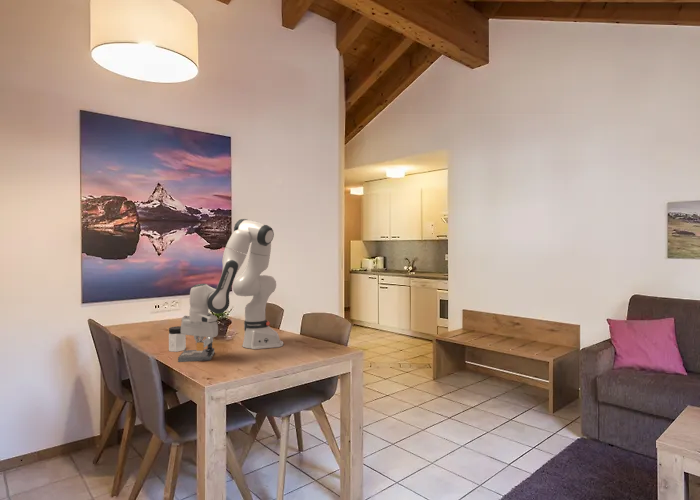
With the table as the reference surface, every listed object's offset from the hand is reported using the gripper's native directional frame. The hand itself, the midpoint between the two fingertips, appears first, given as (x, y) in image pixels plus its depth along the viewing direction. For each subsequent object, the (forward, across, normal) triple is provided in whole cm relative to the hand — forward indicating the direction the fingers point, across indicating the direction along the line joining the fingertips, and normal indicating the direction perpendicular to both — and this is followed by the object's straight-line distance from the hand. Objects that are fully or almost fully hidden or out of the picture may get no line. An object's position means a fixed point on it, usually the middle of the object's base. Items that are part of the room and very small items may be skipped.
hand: (198, 344), depth 217 cm
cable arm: (+1, +1, +4) cm, 4 cm away
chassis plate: (+7, -4, +3) cm, 8 cm away
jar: (+8, -24, +12) cm, 28 cm away
